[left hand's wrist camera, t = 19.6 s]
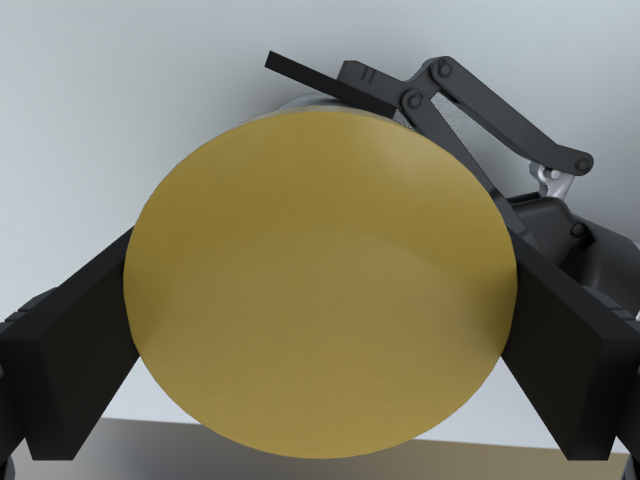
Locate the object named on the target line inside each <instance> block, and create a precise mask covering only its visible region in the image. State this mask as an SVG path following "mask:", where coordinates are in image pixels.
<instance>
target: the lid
mask: <svg viewBox="0 0 640 480" xmlns="http://www.w3.org/2000/svg"><path fill="white" fill-rule="evenodd" d="M517 289H518V282H517V268H516V259H515V255H514V251H513V246H512V242H511V238H510V235H509V233H508V230H507V228H506V225H505V223H504V220H503V218H502V215H501V214H500V212H499V210H498V209H497V207H496V205H495V204H494V202H493V200H492V198H491V197H490V195H489V193H488V192H487V191H486V190H485V188H484V187H483V186H482V185H481V184H480V182H479V181H478V180H477V179H476V177H475V176H474V175H473V174H472V173H471V172H470V171H469V170H468V169H467V168H466V167H465V166H464V165H463V164H461V163H460V162H459V161H458V160H457V159H456V158H455V157H454V156H453V155H451V154H450V153H449V152H447V151H446V150H444V149H443V148H441V147H440V146H438V145H437V144H435V143H434V142H432V141H431V140H429V139H428V138H426V137H424V136H422V135H421V134H419V133H417V132H416V131H414V130H412V129H410V128H408V127H406V126H404V125H402V124H400V123H398V122H396V121H394V120H391V119H389V118H387V117H384V116H380V115H377V114H374V113H371V112H368V111H365V110H359V109H353V108H347V107H341V106H321V105H311V106H302V107H292V108H286V109H282V110H278V111H274V112H270V113H266V114H262V115H260V116H257V117H255V118H252V119H250V120H247V121H245V122H242V123H240V124H238V125H236V126H235V127H233V128H231V129H229V130H228V131H226V132H224V133H222V134H221V135H219V136H217V137H216V138H214V139H212V140H210V141H209V142H207V143H205V144H204V145H202V146H200V147H199V148H198V149H196V150H195V151H194V152H192V153H191V154H190V155H189V156H187V157H186V158H185V159H184V160H182V161H181V162H180V163H179V164H177V165H176V167H175V168H174V169H173V170H172V171H171V172H170V173H169V174H168V175H167V176H166V177H165V178H164V179H163V180H162V181H161V182H160V184H159V185H158V186H157V188H156V189H155V191H154V192H153V194H152V195H151V197H150V198H149V199H148V201H147V202H146V204H145V205H144V207H143V209H142V211H141V214H140V216H139V218H138V220H137V222H136V224H135V226H134V228H133V231H132V235H131V238H130V241H129V244H128V248H127V251H126V258H125V265H124V272H123V293H124V299H125V305H126V310H127V315H128V320H129V325H130V330H131V335H132V338H133V342H134V344H135V346H136V348H137V350H138V352H139V354H140V356H141V359H142V361H143V362H144V364H145V366H146V367H147V369H148V370H149V372H150V373H151V375H152V376H153V378H154V379H155V381H156V382H157V383H158V384H159V386H160V387H161V388H162V389H163V390H164V391H165V393H166V394H167V395H168V396H169V397H170V398H171V399H172V400H173V401H174V402H175V403H176V404H177V405H178V406H179V407H180V408H182V409H183V410H184V411H185V412H186V413H187V414H189V415H190V416H192V417H193V418H194V419H196V420H197V421H198V422H200V423H201V424H202V425H204V426H206V427H208V428H209V429H211V430H213V431H214V432H216V433H218V434H220V435H222V436H224V437H226V438H228V439H230V440H233V441H235V442H237V443H239V444H242V445H245V446H248V447H251V448H254V449H257V450H260V451H264V452H269V453H273V454H278V455H282V456H290V457H298V458H316V459H329V458H342V457H351V456H357V455H363V454H368V453H372V452H376V451H380V450H383V449H387V448H390V447H393V446H395V445H398V444H400V443H403V442H406V441H408V440H411V439H413V438H415V437H417V436H418V435H420V434H422V433H424V432H426V431H428V430H430V429H432V428H433V427H435V426H436V425H438V424H439V423H441V422H442V421H444V420H445V419H447V418H448V417H449V416H450V415H452V414H453V413H454V412H455V411H456V410H458V409H459V408H460V407H461V406H462V405H464V404H465V403H466V402H467V401H468V400H469V398H470V397H471V396H472V395H473V394H474V393H475V392H476V391H477V390H478V389H479V388H480V386H481V385H482V384H483V382H484V381H485V380H486V378H487V377H488V376H489V374H490V373H491V371H492V370H493V368H494V366H495V365H496V363H497V361H498V359H499V357H500V356H501V354H502V352H503V350H504V347H505V344H506V342H507V339H508V337H509V333H510V328H511V323H512V318H513V312H514V307H515V302H516V296H517Z"/></svg>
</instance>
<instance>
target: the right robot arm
mask: <svg viewBox="0 0 640 480" xmlns="http://www.w3.org/2000/svg"><path fill="white" fill-rule="evenodd" d="M265 67H266V68H268V69H271V70H273V71H275V72H277V73H280V74H282V75H284V76H287V77H289V78H291V79H293V80H296V81H298V82H300V83H302V84H305V85H307V86H309V87H312V88H314V89H316V90H318V91H321V92H323V93H325V94H327V95H330V96H332V97H334V98H337V99H339V100H341V101H343V102H346V103H348V104H350V105H352V106H355V107H357V108H359V109H362V110H365V111H368V112H371V113H374V114H377V115H380V116H384V117H387V118H389V119H391V120H392V118H393V116H394V114H395V111H396V109H398V110H399V111H400V112H401V114H402V115H403V116H404V118H405V119H406V120H407V121H408V123H409V124H410V125H411V127H412V128H413V129H414V130H415V131H416V132H417V133H419V134H421V135H422V136H424V137H426V138H428V139H429V140H431V141H432V142H434V143H435V144H437V145H438V146H440V147H441V148H443V149H444V150H446V151H447V152H449V153H450V154H451V155H453V156H454V157H455V158H456V159H457V160H458V161H459V162H460V163H461V164H463V165H464V166H465V167H466V168H467V169H468V170H469V171H470V172H471V173H472V174H473V175H474V176H475V177H476V179H477V180H478V181H479V182H480V184H481V185H482V186H483V187H484V188H485V190H486V191H487V192H488V193H489V195H490V197H491V198H492V200H493V202H494V204H495V205H496V207H497V209H498V210H499V212H500V214H501V215H502V218H503V220H504V223H505V225H506V226H507V227H509V228H510V229H511V230H512V231H514V232H515V233H516V234H517V235H519V236H520V237H521V238H522V239H524V240H525V241H526V242H527V243H529V244H530V245H531V246H532V247H533V248H535V249H536V250H537V251H538V252H540V253H541V254H542V255H543V256H545V257H546V258H547V259H548V260H550V261H551V262H552V263H553V264H555V265H556V266H557V267H558V268H560V269H561V270H562V271H563V272H565V273H566V274H567V275H568V276H570V277H571V278H572V279H573V280H575V281H576V282H577V283H578V284H579V285H581V286H587V287H589V288H592V289H594V290H596V291H598V292H600V293H602V294H604V295H606V296H608V297H609V298H611V299H612V300H613V301H615V302H616V303H617V304H619V305H620V306H621V307H623V310H626V311H628V312H629V313H630V314H632V315H633V316H634V317H636V320H637V321H640V243H637V242H634V241H631V240H629V239H628V238H626V237H624V236H622V235H620V234H617V233H615V232H613V231H610V230H608V229H606V228H604V227H601V226H599V225H597V224H594V223H592V222H590V221H588V220H585V219H583V218H581V217H578V216H576V215H574V214H572V213H571V211H570V210H569V209H568V207H567V205H566V204H565V202H563V200H564V198H565V195H566V193H567V191H568V189H569V187H570V185H571V183H572V181H573V179H574V177H575V176H582V175H585V174H587V173H588V172H589V171H590V170H591V169H592V167H593V164H594V161H593V157H592V156H591V155H590V154H588V153H586V152H582V151H579V150H575V149H572V148H568V147H565V146H561V145H558V144H556V143H555V142H554V141H552V140H551V139H550V138H549V137H548V136H546V135H545V134H544V133H543V132H541V131H540V130H539V129H538V128H537V127H535V126H534V125H533V124H532V123H531V122H529V121H528V120H527V119H526V118H525V117H523V116H522V115H521V114H520V113H518V112H517V111H516V110H515V109H514V108H512V107H511V106H510V105H509V104H508V103H506V102H505V101H504V100H503V99H502V98H500V97H499V96H498V95H497V94H495V93H494V92H493V91H492V90H491V89H489V88H488V87H487V86H486V85H485V84H483V83H482V82H481V81H480V80H479V79H477V78H476V77H475V76H474V75H472V74H471V73H470V72H469V71H468V70H466V69H465V68H464V67H463V66H462V65H460V64H459V63H458V62H457V61H456V60H454V59H453V58H451V57H449V56H442V57H436V58H430V59H428V60H426V61H425V62H424V63H423V65H422V67H421V68H420V69H419V70H418V71H417V73H416V74H415V75H414V76H413V77H412V78H410V79H409V80H407V81H400V80H397V79H395V78H393V77H391V76H389V75H386V74H384V73H382V72H380V71H378V70H375V69H373V68H371V67H369V66H367V65H365V64H362V63H360V62H358V61H344V62H343V64H342V67H341V69H340V72H339V74H338V77H337V79H336V80H335V79H333V78H331V77H328V76H326V75H324V74H322V73H319V72H317V71H315V70H313V69H310V68H308V67H306V66H304V65H302V64H299V63H297V62H295V61H293V60H290V59H288V58H286V57H284V56H281V55H279V54H277V53H275V52H272V51H270V52H269V55H268V58H267V61H266V64H265ZM437 92H439V93H441V94H442V95H443V96H444V97H446V98H447V99H448V100H449V101H451V102H452V103H453V104H454V105H456V106H457V107H458V108H459V109H461V110H462V111H463V112H464V113H466V114H467V115H468V116H469V117H471V118H472V119H473V120H474V121H476V122H477V123H478V124H479V125H481V126H482V127H483V128H484V129H486V130H487V131H488V132H489V133H491V134H492V135H493V136H494V137H496V138H497V139H498V140H500V141H501V142H502V143H503V144H505V145H506V146H507V147H508V148H510V149H511V150H512V151H514V152H515V153H516V154H518V155H520V156H522V157H524V158H526V159H528V160H530V161H532V162H531V163H530V165H529V168H530V174H531V176H532V177H534V178H535V179H537V180H538V181H539V184H540V189H539V192H533V193H529V194H524V195H520V196H515V197H511V198H506V199H505V197H504V196H503V195H502V194H501V193H500V192H499V191H498V190H497V189H496V188H495V186H494V185H493V184H492V182H491V181H490V180H489V178H488V177H487V176H486V174H485V173H484V172H483V170H482V169H481V168H480V166H479V165H478V164H477V162H476V161H475V160H474V158H473V157H472V156H471V154H470V153H469V152H468V150H467V149H466V148H465V146H464V145H463V144H462V142H461V141H460V140H459V138H458V137H457V136H456V134H455V133H454V132H453V130H452V129H451V128H450V126H449V125H448V123H447V122H446V121H445V119H444V118H443V117H442V115H441V114H440V113H439V111H438V110H437V109H436V107H435V106H434V105H433V103H432V102H431V101H430V99H431V98H432V97H433V96H434V95H435V94H436V93H437Z"/></svg>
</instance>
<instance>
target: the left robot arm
mask: <svg viewBox="0 0 640 480" xmlns="http://www.w3.org/2000/svg"><path fill="white" fill-rule="evenodd" d="M134 226H135V225H134ZM134 226H133V227H132V228H131V229H129V230H128V231H127V232H126V233H124V234H123V235H122V236H121V237H119V238H118V239H117V240H116V241H114V242H113V243H112V244H111V245H109V246H108V247H107V248H106V249H105V250H103V251H102V252H101V253H100V254H98V255H97V256H96V257H95V258H93V259H92V260H91V261H90V262H88V263H87V264H86V265H85V266H83V267H82V268H81V269H80V270H78V271H77V272H76V273H75V274H73V275H72V276H71V277H70V278H68V279H67V280H66V281H65V282H64V283H62V284H61V285H60V286H59V287H55V288H52V289H50V290H48V291H46V292H44V293H42V294H40V295H38V296H36V297H34V298H32V299H31V300H30V301H28V302H27V303H26V304H24V305H23V306H22V307H21V308H19V309H18V312H14V313H13V314H11V315H10V316H9V317H8V318H6V319H5V322H1V323H0V480H14V479H15V468H14V463H13V460H12V458H11V454H12V452H13V451H14V450H15V449H16V448H17V446H18V445H19V444H20V443H21V441H22V440H23V439H24V438H26V441H27V444H28V447H29V450H30V453H31V456H32V459H33V460H73V459H74V457H75V456H76V454H77V453H78V451H79V450H80V448H81V446H82V445H83V443H84V442H85V440H86V439H87V437H88V436H89V434H90V433H91V431H92V429H93V428H94V426H95V425H96V423H97V422H98V420H99V418H100V417H101V415H102V414H103V412H104V411H105V409H106V408H107V406H108V405H109V403H110V401H111V400H112V398H113V397H114V395H115V394H116V392H117V391H118V389H119V387H120V386H121V384H122V383H123V381H124V380H125V378H126V377H127V375H128V373H129V372H130V370H131V369H132V367H133V366H134V364H135V363H136V361H137V359H138V358H139V356H140V354H139V352H138V350H137V348H136V346H135V344H134V342H133V338H132V335H131V330H130V325H129V320H128V315H127V310H126V305H125V299H124V293H123V272H124V265H125V258H126V251H127V248H128V244H129V241H130V238H131V235H132V231H133V228H134ZM506 228H507V230H508V233H509V235H510V238H511V242H512V246H513V251H514V255H515V259H516V268H517V282H518V289H517V296H516V302H515V307H514V312H513V318H512V323H511V328H510V333H509V337H508V339H507V342H506V344H505V347H504V350H503V352H502V354H501V357H502V359H503V360H504V362H505V363H506V365H507V367H508V368H509V370H510V371H511V373H512V374H513V376H514V377H515V379H516V381H517V382H518V384H519V385H520V387H521V388H522V390H523V391H524V393H525V394H526V396H527V398H528V399H529V401H530V402H531V404H532V405H533V407H534V408H535V410H536V412H537V413H538V415H539V416H540V418H541V419H542V421H543V422H544V424H545V426H546V427H547V429H548V430H549V432H550V433H551V435H552V436H553V438H554V440H555V441H556V443H557V444H558V446H559V447H560V449H561V450H562V452H563V454H564V455H565V457H566V458H567V460H604V461H606V460H608V458H609V455H610V452H611V449H612V446H613V443H614V440H615V437H616V436H617V437H618V438H619V440H620V441H621V442H622V443H623V444H624V446H625V447H626V448H627V449H628V451H629V452H630V455H629V458H628V460H627V463H626V466H625V469H624V472H623V474H622V477H621V480H640V321H637V320H636V317H634V316H633V315H632V314H630V313H629V312H628V311H626V310H623V307H621V306H620V305H619V304H617V303H616V302H615V301H613V300H612V299H611V298H609V297H608V296H606V295H604V294H602V293H600V292H598V291H596V290H594V289H592V288H589V287H587V286H581V285H579V284H578V283H577V282H576V281H575V280H573V279H572V278H571V277H570V276H568V275H567V274H566V273H565V272H563V271H562V270H561V269H560V268H558V267H557V266H556V265H555V264H553V263H552V262H551V261H550V260H548V259H547V258H546V257H545V256H543V255H542V254H541V253H540V252H538V251H537V250H536V249H535V248H533V247H532V246H531V245H530V244H529V243H527V242H526V241H525V240H524V239H522V238H521V237H520V236H519V235H517V234H516V233H515V232H514V231H512V230H511V229H510V228H509V227H507V226H506Z"/></svg>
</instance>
